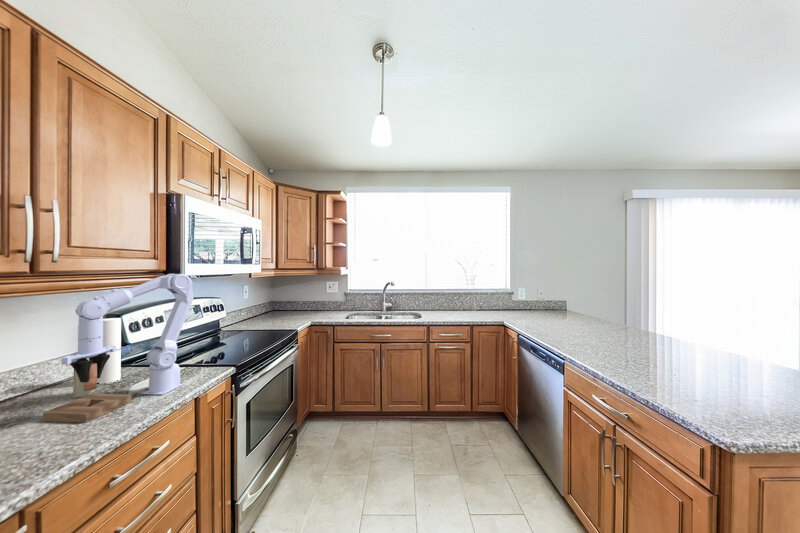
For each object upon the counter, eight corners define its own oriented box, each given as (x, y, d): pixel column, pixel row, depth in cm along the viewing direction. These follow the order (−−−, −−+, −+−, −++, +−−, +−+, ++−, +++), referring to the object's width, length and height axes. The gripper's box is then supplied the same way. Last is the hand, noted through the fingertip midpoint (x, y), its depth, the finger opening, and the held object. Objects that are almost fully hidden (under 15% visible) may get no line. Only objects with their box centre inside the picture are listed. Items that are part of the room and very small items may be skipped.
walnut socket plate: (93, 400, 106) (93, 393, 106) (131, 402, 105) (131, 394, 105) (43, 420, 92) (43, 412, 92) (86, 422, 91) (86, 414, 91)
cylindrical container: (118, 381, 124) (119, 319, 124) (94, 385, 120) (95, 321, 120) (122, 376, 130) (122, 317, 130) (98, 379, 126) (99, 318, 126)
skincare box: (80, 392, 113) (81, 359, 113) (96, 390, 115) (97, 357, 115) (72, 398, 108) (72, 363, 108) (89, 396, 110) (89, 362, 110)
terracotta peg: (91, 387, 100) (91, 362, 100) (99, 387, 100) (99, 362, 100) (80, 390, 97) (81, 365, 97) (89, 391, 97) (89, 365, 97)
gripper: (102, 332, 106) (102, 372, 106) (52, 342, 91) (51, 388, 91) (121, 333, 105) (121, 372, 105) (73, 343, 91) (73, 389, 91)
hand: (90, 379), depth 98 cm, fingers closed on terracotta peg, 3 cm apart
